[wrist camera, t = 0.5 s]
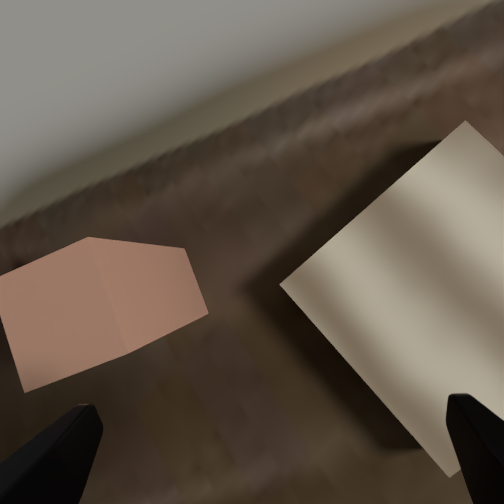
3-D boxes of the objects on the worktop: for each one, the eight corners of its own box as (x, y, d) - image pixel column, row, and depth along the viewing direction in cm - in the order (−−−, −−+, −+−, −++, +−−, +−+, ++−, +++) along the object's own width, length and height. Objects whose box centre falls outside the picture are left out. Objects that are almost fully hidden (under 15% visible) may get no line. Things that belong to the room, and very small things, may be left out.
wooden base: (430, 448, 22) (449, 477, 19) (283, 281, 24) (279, 284, 21) (616, 304, 20) (669, 311, 17) (444, 139, 22) (465, 120, 19)
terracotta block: (208, 313, 24) (128, 353, 14) (147, 337, 25) (24, 393, 14) (184, 248, 25) (88, 237, 14) (124, 273, 26) (-11, 281, 15)
